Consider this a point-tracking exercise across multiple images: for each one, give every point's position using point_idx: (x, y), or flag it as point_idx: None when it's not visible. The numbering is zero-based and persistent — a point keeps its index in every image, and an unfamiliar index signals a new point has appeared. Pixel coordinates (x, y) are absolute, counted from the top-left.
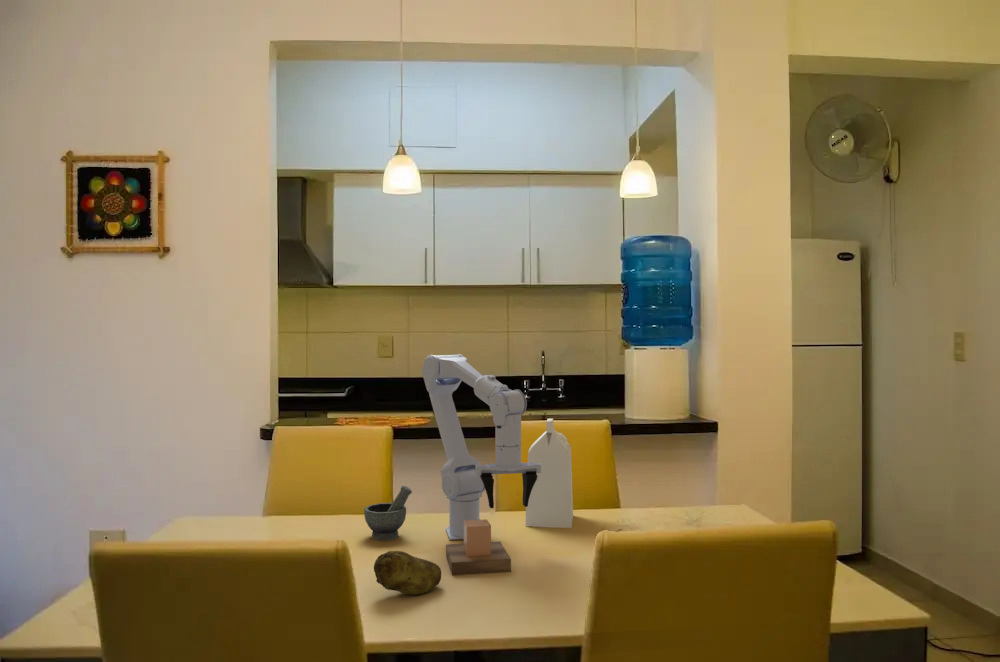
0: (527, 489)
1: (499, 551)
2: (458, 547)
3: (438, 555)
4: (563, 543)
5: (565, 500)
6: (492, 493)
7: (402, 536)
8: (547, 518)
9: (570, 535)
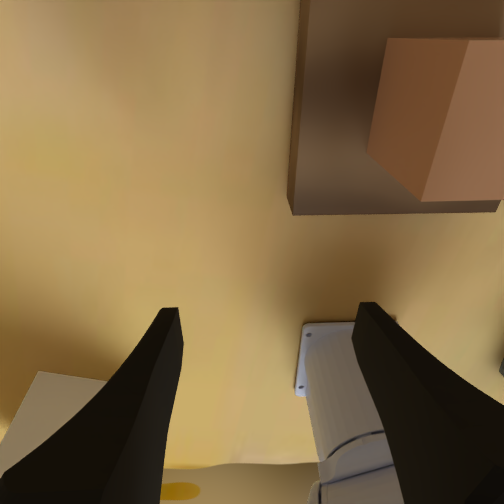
0: (137, 388)
1: (333, 84)
2: None
3: None
4: (58, 258)
5: (15, 455)
6: (411, 364)
7: (494, 358)
8: None
9: (37, 320)
